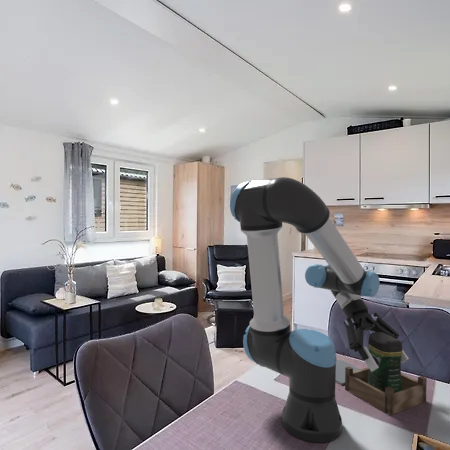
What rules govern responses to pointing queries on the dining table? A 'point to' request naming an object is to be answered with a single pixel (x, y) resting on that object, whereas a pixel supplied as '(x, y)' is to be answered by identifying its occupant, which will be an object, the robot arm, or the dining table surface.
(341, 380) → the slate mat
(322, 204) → the robot arm
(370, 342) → the coffee jar
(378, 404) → the wooden fruit crate
